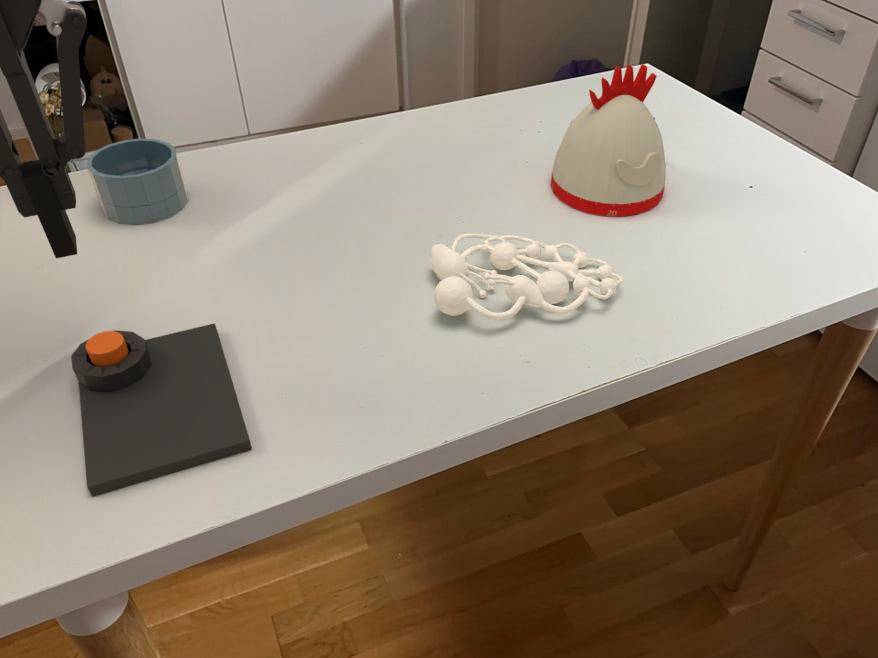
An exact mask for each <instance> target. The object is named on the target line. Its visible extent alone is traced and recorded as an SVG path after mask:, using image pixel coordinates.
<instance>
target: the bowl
mask: <svg viewBox="0 0 878 658" xmlns="http://www.w3.org/2000/svg"><path fill="white" fill-rule="evenodd" d="M86 169H87V172H88V174H89V178H90V180H91V183H92V185H93V189H94V191H95V194H96V197H97V199H98V203H99V205H100V208H101V210H102V213H103V215H104V216H105V217H106V218H107V219H108V220H109V221H111V222H114V223H116V224H119V225H128V226H129V225H130V226H140V225H141V226H142V225H148V224H149V225H150V224H155V223H159V222H161V221H165V220H167V219H170V218H172V217H174V216H175V215H177V214H179V213H180V212H182V211H184V209H185V207H186V206H187V205H188V203H189V193H188V190H187V185H186V183H185V179H184V175H183V172H182V171H183V170H182V167H181V164H180V159H179V156H178V152H177V149H176V148H175V146H173V145H172V144H171V143H169V142H167V141H164V140H160V139H158V138H157V139H156V138H134V139H133V138H132V139H125V140H121V141H117V142H113V143H109V144H107V145H105V146H103V147H101V148H99V149H97V150H95V151H94V152H93V153H92V154H91V155H90V156H89V157H88V158H87V162H86Z"/></svg>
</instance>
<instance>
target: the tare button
mask: <svg viewBox="0 0 878 658" xmlns="http://www.w3.org/2000/svg"><path fill="white" fill-rule="evenodd" d="M88 339H89V340H88ZM88 339H87V340H88V341H87V340H86V341H87V343H86V350H87V352H88V354H89V357H90V359H91V361H92V363H93V364H94V365H96V366H99V367H107V366H111V365H115V364H118V363H119V362H121V361H122V360H124V359H126V357H127V356H128V348H127V345H126V343H125V340H124V338H123V336H122V335H121V334H120V333H118V332H115V331H114V330H105V331H101V332H99V333H96V334H94V335H93V336H91V337H90V338H88Z"/></svg>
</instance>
